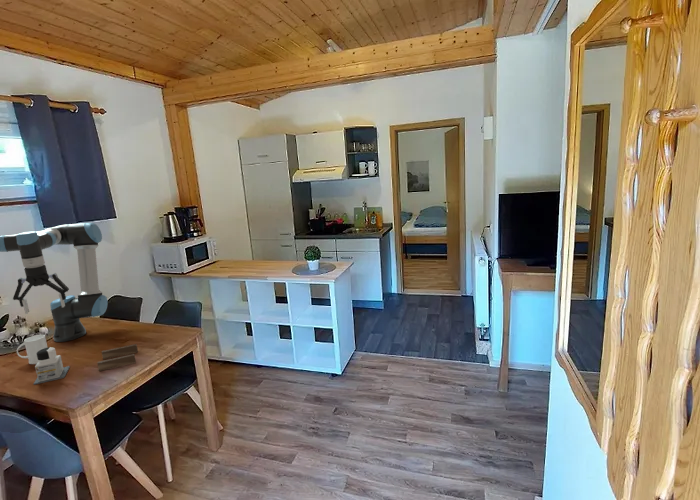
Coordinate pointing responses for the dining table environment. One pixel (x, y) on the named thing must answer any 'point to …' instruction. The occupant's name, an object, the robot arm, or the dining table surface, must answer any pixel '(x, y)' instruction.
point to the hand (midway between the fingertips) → (45, 309)
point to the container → (48, 364)
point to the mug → (33, 347)
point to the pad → (54, 378)
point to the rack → (120, 360)
